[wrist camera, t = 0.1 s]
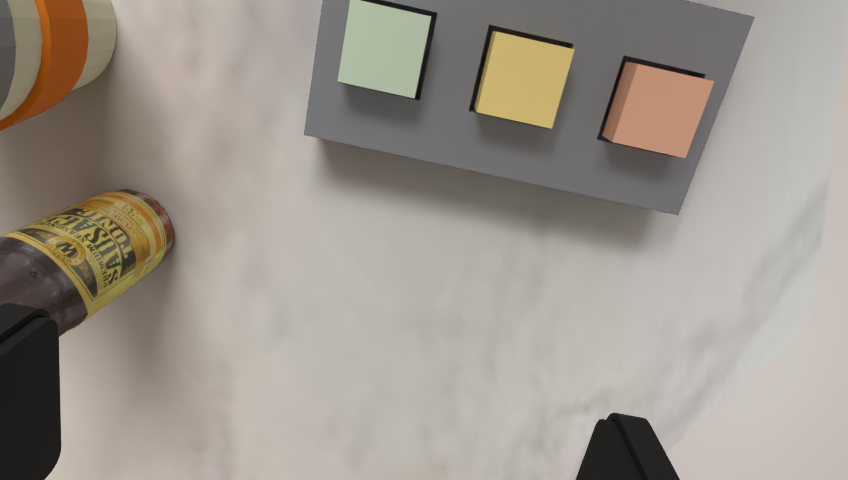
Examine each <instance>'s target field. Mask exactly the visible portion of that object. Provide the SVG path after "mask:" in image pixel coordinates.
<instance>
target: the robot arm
mask: <svg viewBox="0 0 848 480" xmlns="http://www.w3.org/2000/svg"><path fill="white" fill-rule="evenodd" d="M60 452H61V419H60V375H59V332H58V324H57V322H56V321H55V320H53V319H50V315H49V313H48V312H47V311H46V310H45V309H42V308H37V307H31V306H26V305H20V304H15V303H5V304H2V305H0V480H44V479H45V478H46V477H47V476H48V475H49V474H50V473H51V471H52V470H53V468H54V467H55V465H56V463H57V461H58V459H59V456H60ZM576 480H680V479H679V477H678V475H677V474H676V472H675V470H674V468H673V466H672V464H671V462H670V461H669V459H668V457H667V455H666V453H665V451H664V449H663V447H662V446H661V444H660V442H659V440H658V438H657V436H656V434H655V433H654V431H653V429H652V427H651V425H650V423H649V422H648V421H647V420H646V419H644V418H640V417H635V416H629V415H624V414H618V413H611V414H610V415H609V416H608V418H607V420H604V419H600V420H599V421H598V422H597V424H596V426H595V428H594V431H593V434H592V437H591V439H590V442H589V445H588V447H587V450H586V453H585V456H584V458H583V461H582V464H581V467H580V469H579V472H578V475H577V477H576Z"/></svg>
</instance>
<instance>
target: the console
mask: <svg viewBox="0 0 848 480" xmlns="http://www.w3.org/2000/svg"><path fill="white" fill-rule="evenodd" d="M361 1H365V2H370V3H374V4H378V5H383V6H387V7H391V8H396V9H400V10H405V11H409V12H413V13H418V14H422V15H426V16H431V22H430V27H429V32H428V37H427V42H426V47H425V51H424V56H423V61H422V66H421V71H420V76H419V81H418V86H417V91H416V95H415V99H414V98H410V97H405V96H401V95H396V94H392V93H387V92H383V91H378V90H374V89H369V88H365V87H360V86H355V85H351V84H346V83H342V82H337V81H338V75H339V68H340V62H341V55H342V49H343V43H344V36H345V30H346V23H347V17H348V11H349V4H350V0H323V3H322V10H321V17H320V24H319V31H318V38H317V45H316V53H315V60H314V67H313V74H312V81H311V88H310V95H309V102H308V109H307V117H306V124H305V131H304V135H307V136H311V137H316V138H321V139H325V140H330V141H335V142H339V143H344V144H349V145H353V146H358V147H363V148H367V149H372V150H377V151H381V152H386V153H391V154H395V155H400V156H405V157H409V158H414V159H419V160H423V161H428V162H433V163H437V164H442V165H446V166H451V167H456V168H460V169H465V170H470V171H474V172H479V173H484V174H488V175H493V176H498V177H502V178H507V179H512V180H516V181H521V182H526V183H530V184H535V185H540V186H544V187H549V188H554V189H558V190H563V191H568V192H572V193H577V194H581V195H586V196H591V197H595V198H600V199H605V200H609V201H614V202H619V203H623V204H628V205H633V206H637V207H642V208H647V209H651V210H656V211H661V212H665V213H670V214H675V215H678V214H679V211H680V209H681V206H682V204H683V201H684V198H685V196H686V193H687V191H688V188H689V186H690V183H691V180H692V178H693V175H694V173H695V170H696V167H697V165H698V162H699V160H700V157H701V154H702V152H703V149H704V147H705V144H706V142H707V139H708V136H709V134H710V131H711V129H712V126H713V123H714V121H715V118H716V116H717V113H718V110H719V108H720V105H721V103H722V100H723V98H724V95H725V92H726V90H727V87H728V85H729V82H730V79H731V77H732V74H733V72H734V69H735V66H736V64H737V61H738V59H739V56H740V54H741V51H742V48H743V46H744V43H745V41H746V38H747V35H748V33H749V30H750V28H751V25H752V22H753V20H754V17H752V16H748V15H744V14H740V13H735V12H731V11H727V10H723V9H719V8H714V7H710V6H706V5H702V4H697V3H693V2H689V1H685V0H361ZM492 31H496V32H501V33H505V34H510V35H514V36H518V37H523V38H527V39H531V40H536V41H540V42H545V43H549V44H553V45H558V46H562V47H566V48H571V49H575V50H574V54H573V57H572V61H571V64H570V68H569V71H568V75H567V78H566V81H565V85H564V88H563V92H562V95H561V99H560V102H559V106H558V109H557V112H556V116H555V119H554V123H553V126H552V129H550V128H546V127H541V126H537V125H532V124H528V123H523V122H519V121H514V120H510V119H505V118H501V117H496V116H492V115H487V114H482V113H478V112H476V110H475V107H474V106H475V102H476V98H477V94H478V90H479V86H480V81H481V77H482V73H483V69H484V65H485V61H486V56H487V52H488V48H489V44H490V40H491V36H492ZM626 62H631V63H636V64H641V65H645V66H649V67H654V68H658V69H663V70H667V71H671V72H676V73H680V74H684V75H689V76H693V77H698V78H702V79H706V80H711V81H714V84H713V87H712V89H711V92H710V95H709V97H708V100H707V103H706V105H705V108H704V111H703V113H702V116H701V119H700V121H699V124H698V126H697V129H696V132H695V134H694V137H693V140H692V142H691V145H690V148H689V150H688V153H687V156H686V158H682V157H677V156H673V155H668V154H664V153H659V152H655V151H650V150H646V149H641V148H637V147H632V146H628V145H623V144H618V143H614V142H611V141H610V140H608V139H607V138H605V137H604V136H602V134H603V131H604V128H605V125H606V122H607V119H608V115H609V112H610V109H611V106H612V103H613V100H614V97H615V94H616V91H617V87H618V84H619V81H620V78H621V75H622V72H623V69H624V66H625V63H626Z"/></svg>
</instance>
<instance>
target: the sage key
mask: <svg viewBox="0 0 848 480" xmlns="http://www.w3.org/2000/svg"><path fill="white" fill-rule="evenodd" d="M430 22H431V16H426V15H422V14H418V13H413V12H409V11H405V10H400V9H396V8H391V7H387V6H383V5H378V4H374V3H370V2H365V1H361V0H350V4H349V11H348V17H347V23H346V30H345V36H344V43H343V49H342V55H341V62H340V68H339V75H338V81H337V82H342V83H346V84H351V85H355V86H360V87H365V88H369V89H374V90H378V91H383V92H387V93H392V94H396V95H401V96H405V97H410V98H414V99H415V95H416V91H417V86H418V81H419V76H420V71H421V66H422V61H423V56H424V51H425V47H426V42H427V37H428V32H429V27H430Z"/></svg>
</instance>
